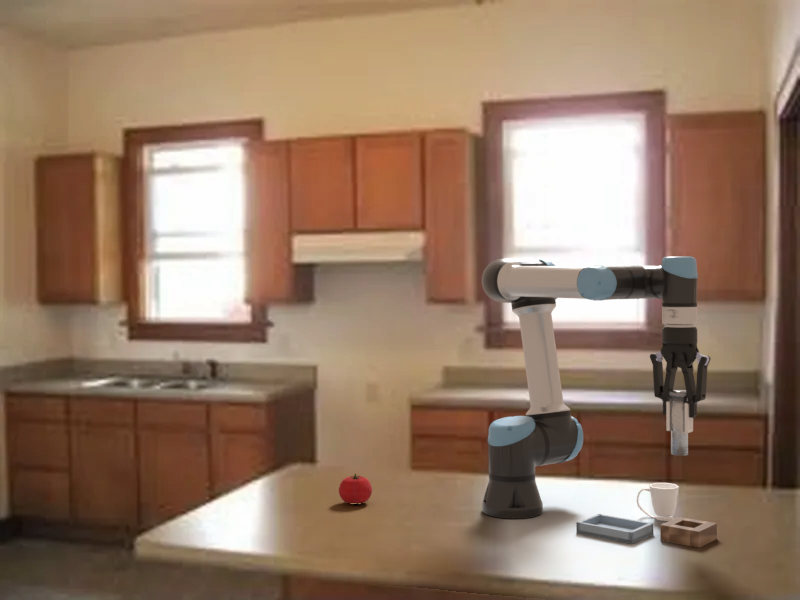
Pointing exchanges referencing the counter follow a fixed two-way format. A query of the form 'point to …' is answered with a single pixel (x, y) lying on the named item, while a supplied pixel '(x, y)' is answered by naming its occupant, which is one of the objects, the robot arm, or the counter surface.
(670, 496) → the cup
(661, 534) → the socket block
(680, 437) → the pin
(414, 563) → the counter surface
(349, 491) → the tomato
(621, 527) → the tray
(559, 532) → the counter surface
